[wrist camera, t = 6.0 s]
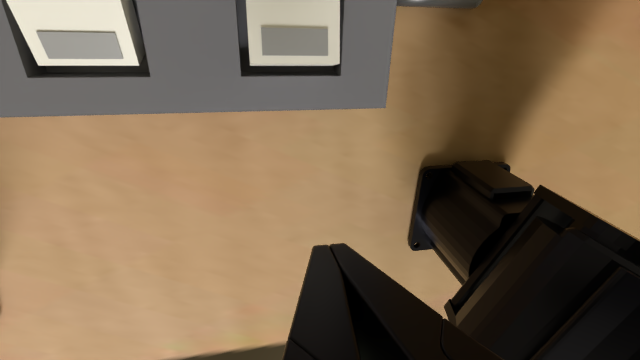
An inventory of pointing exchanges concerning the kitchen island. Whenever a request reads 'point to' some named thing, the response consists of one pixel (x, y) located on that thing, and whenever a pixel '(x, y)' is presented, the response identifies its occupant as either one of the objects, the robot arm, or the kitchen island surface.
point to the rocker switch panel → (206, 65)
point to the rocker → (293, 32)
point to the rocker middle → (80, 32)
